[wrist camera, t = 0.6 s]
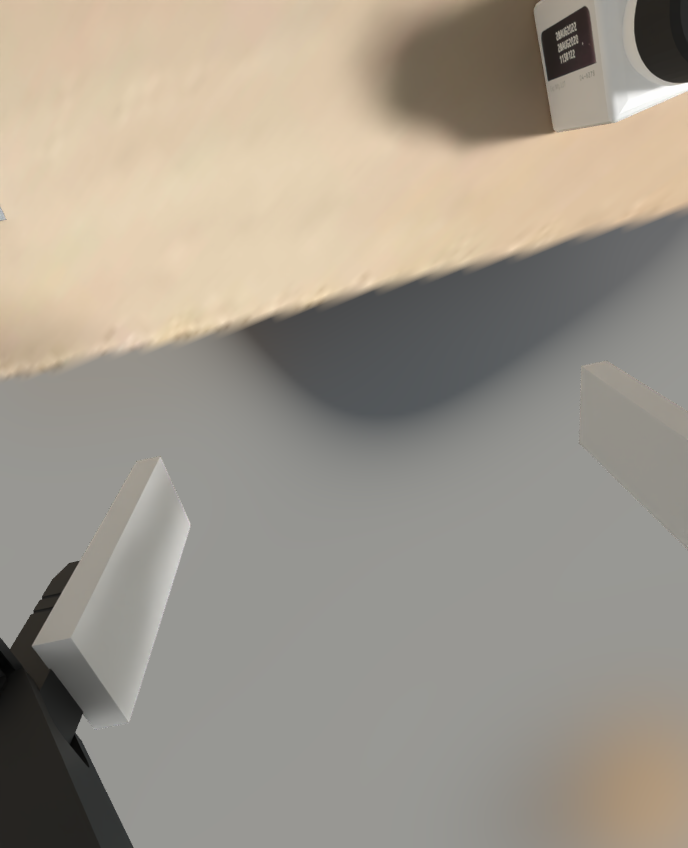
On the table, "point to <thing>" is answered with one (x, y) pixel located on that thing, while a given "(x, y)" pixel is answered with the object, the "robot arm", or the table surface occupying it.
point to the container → (610, 57)
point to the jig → (2, 215)
